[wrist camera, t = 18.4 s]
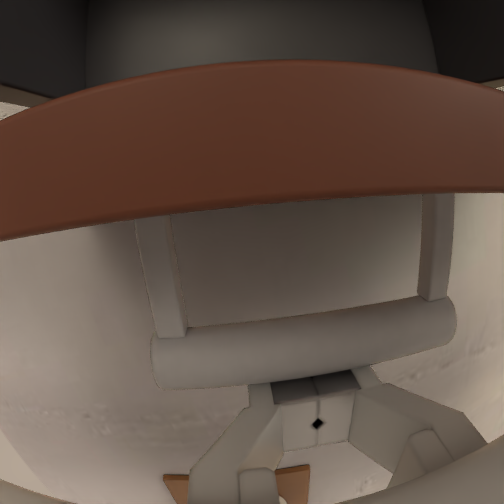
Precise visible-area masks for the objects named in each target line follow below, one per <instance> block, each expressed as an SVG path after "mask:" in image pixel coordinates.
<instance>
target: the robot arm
mask: <svg viewBox="0 0 504 504" xmlns="http://www.w3.org/2000/svg"><path fill="white" fill-rule="evenodd" d="M248 393H249V403H250V407H249V408H244V409H243V410H242V411H241V412H240V413H239V415H238V416H237V417H236V418H235V419H234V421H233V422H232V423H231V424H230V425H229V427H228V428H227V429H226V430H225V431H224V432H223V434H222V435H221V436H220V437H219V438H218V439H217V440H216V442H215V443H214V444H213V445H212V446H211V447H210V448H209V450H208V451H207V452H206V453H205V454H204V455H203V456H202V457H201V458H200V460H199V461H198V462H197V463H196V464H195V465H194V466H193V467H192V468H191V469H190V473H189V485H188V497H187V504H280V500H279V494H278V489H277V483H276V477H275V472H274V471H275V469H276V468H277V466H278V464H279V462H280V460H281V458H282V456H283V452H289V451H295V450H300V449H305V448H310V447H315V446H321V445H327V444H332V443H337V442H342V441H347V440H348V442H349V443H350V444H352V445H353V446H354V447H356V448H357V449H359V450H360V451H361V452H363V453H364V454H365V455H367V456H368V457H370V458H371V459H372V460H374V461H375V462H377V463H378V464H380V465H381V466H383V467H384V468H385V469H387V470H388V471H390V472H391V473H393V476H392V478H391V481H390V483H389V485H388V487H387V489H385V490H382V491H379V492H376V493H372V494H369V495H366V496H362V497H358V498H355V499H351V500H347V501H343V502H339V503H335V504H504V434H503V435H502V436H500V437H499V438H497V439H495V440H494V441H492V442H490V443H487V442H486V441H485V440H484V438H483V437H482V436H481V435H480V433H479V432H478V431H477V429H476V428H475V427H474V426H473V424H472V423H471V422H470V421H469V419H468V418H467V417H466V416H465V415H464V413H463V412H460V411H457V410H455V409H452V408H449V407H447V406H444V405H441V404H439V403H436V402H434V401H431V400H428V399H426V398H423V397H421V396H418V395H416V394H413V393H411V392H408V391H406V390H404V389H401V388H399V387H396V386H394V385H392V384H389V383H385V384H382V383H381V381H380V380H379V378H378V377H377V375H376V374H375V372H374V371H373V369H372V368H371V366H370V365H367V366H363V367H358V368H353V369H348V370H343V371H338V372H333V373H328V374H322V375H316V376H310V377H304V378H298V379H291V380H284V381H276V382H269V383H260V384H251V385H248ZM0 504H76V503H72V502H68V501H64V500H61V499H57V498H53V497H50V496H47V495H43V494H40V493H37V492H34V491H31V490H28V489H25V488H22V487H20V486H17V485H14V484H12V483H9V482H6V481H4V480H2V479H0Z"/></svg>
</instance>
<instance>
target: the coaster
mask: <svg viewBox="0 0 504 504" xmlns="http://www.w3.org/2000/svg"><path fill="white" fill-rule="evenodd" d="M274 472H275V477H276V483H277V489H278V494H279V496H281V497H282V498H283V499H284V500H285V501H286V502H287V504H307V502H308V491H309V479H310V467H309V465H304V466H298V467H291V468H285V469H278V470H275V471H274ZM163 481H164V483H165V484H166V486H167V488H168V489H169V491H170V493H171V495H172V496H173V498H174V500H175V501H176V503H177V504H187V497H188V485H189V475H164V476H163Z"/></svg>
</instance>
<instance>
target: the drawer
mask: <svg viewBox="0 0 504 504" xmlns="http://www.w3.org/2000/svg"><path fill="white" fill-rule="evenodd" d="M503 86H504V0H0V102H5V103H10V104H16V105H21V106H25V107H30V108H29V109H26V110H24V111H21V112H19V113H17V114H14V115H12V116H10V117H7V118H5V119H3V120H1V121H0V242H1V241H6V240H12V239H17V238H22V237H28V236H33V235H39V234H44V233H50V232H56V231H62V230H68V229H74V228H80V227H86V226H93V225H99V224H106V223H113V222H119V221H126V220H134V224H135V230H136V236H137V242H138V248H139V254H140V259H141V264H142V269H143V274H144V279H145V284H146V289H147V294H148V298H149V303H150V307H151V312H152V316H153V320H154V324H155V328H156V331H155V332H154V333H153V336H152V339H151V346H150V360H151V368H152V372H153V376H154V379H155V381H156V384H157V386H158V387H159V388H160V389H162V390H185V389H204V388H219V387H231V386H242V385H251V384H260V383H269V382H276V381H284V380H291V379H298V378H304V377H310V376H316V375H322V374H328V373H333V372H338V371H343V370H348V369H353V368H358V367H363V366H367V365H372V364H376V363H380V362H384V361H389V360H393V359H397V358H400V357H404V356H408V355H412V354H415V353H419V352H422V351H426V350H429V349H433V348H436V347H439V346H443V345H446V344H448V343H449V342H450V341H451V340H452V339H453V337H454V335H455V332H456V327H457V316H456V311H455V308H454V305H453V303H452V301H451V299H450V298H449V297H448V296H447V289H448V282H449V274H450V265H451V255H452V242H453V226H454V193H504V91H501V90H498V89H495V88H497V87H503ZM414 194H422V230H421V251H420V265H419V277H418V287H417V293H418V294H419V296H414V297H409V298H403V299H398V300H393V301H387V302H382V303H376V304H370V305H365V306H359V307H353V308H346V309H340V310H334V311H327V312H320V313H313V314H306V315H299V316H291V317H283V318H275V319H267V320H258V321H249V322H240V323H230V324H219V325H208V326H197V327H187V325H188V321H187V315H186V310H185V305H184V300H183V294H182V288H181V283H180V277H179V271H178V265H177V259H176V252H175V246H174V239H173V233H172V226H171V218H170V215H172V214H180V213H188V212H196V211H205V210H214V209H223V208H233V207H243V206H253V205H263V204H274V203H286V202H298V201H311V200H324V199H338V198H354V197H371V196H391V195H414Z"/></svg>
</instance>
